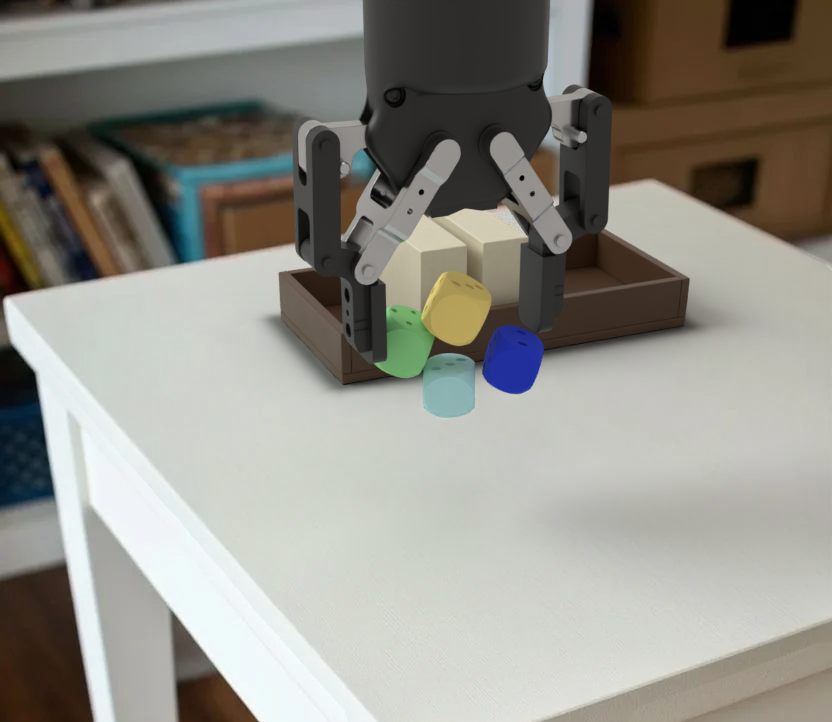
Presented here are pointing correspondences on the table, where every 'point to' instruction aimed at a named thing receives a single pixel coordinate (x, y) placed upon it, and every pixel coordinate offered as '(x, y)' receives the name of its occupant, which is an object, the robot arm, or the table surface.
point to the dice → (458, 325)
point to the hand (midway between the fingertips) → (454, 341)
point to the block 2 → (489, 251)
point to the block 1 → (422, 264)
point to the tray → (511, 306)
